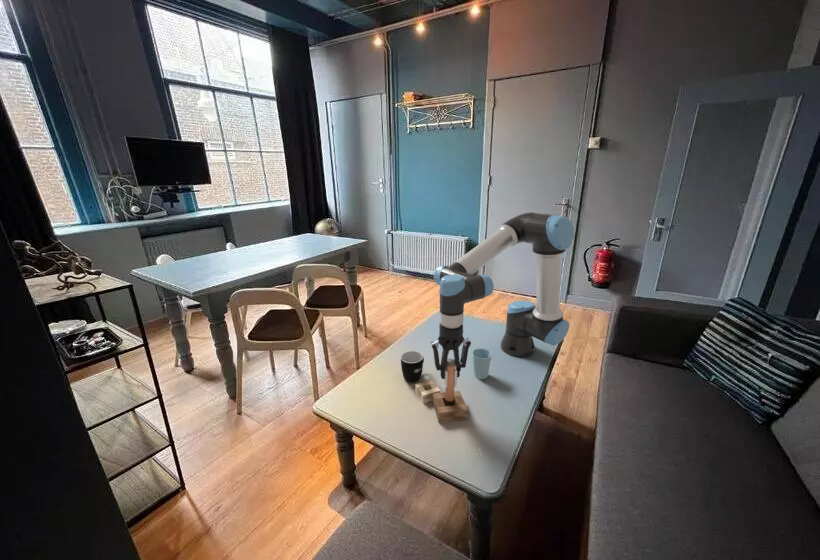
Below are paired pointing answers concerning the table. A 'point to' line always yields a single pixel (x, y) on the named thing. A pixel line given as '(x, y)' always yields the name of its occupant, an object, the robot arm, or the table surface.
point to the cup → (481, 362)
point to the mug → (412, 366)
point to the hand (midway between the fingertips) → (449, 385)
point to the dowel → (450, 380)
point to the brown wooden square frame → (450, 407)
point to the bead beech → (426, 391)
